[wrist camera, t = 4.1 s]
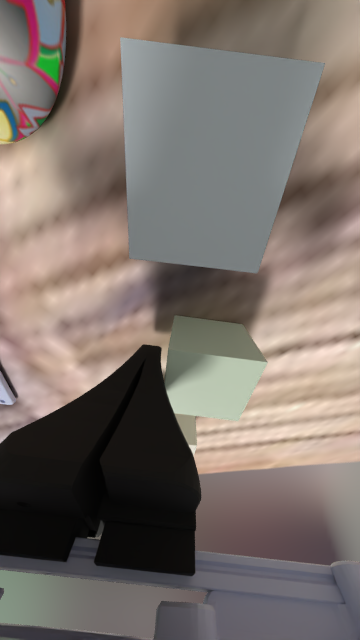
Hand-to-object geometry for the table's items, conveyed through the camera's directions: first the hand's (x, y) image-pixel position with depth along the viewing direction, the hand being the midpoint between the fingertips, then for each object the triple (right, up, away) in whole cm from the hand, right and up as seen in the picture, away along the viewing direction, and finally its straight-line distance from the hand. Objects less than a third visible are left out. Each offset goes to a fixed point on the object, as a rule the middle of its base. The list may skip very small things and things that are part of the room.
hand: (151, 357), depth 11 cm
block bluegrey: (+3, +9, -2) cm, 9 cm away
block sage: (+4, 0, +2) cm, 4 cm away
